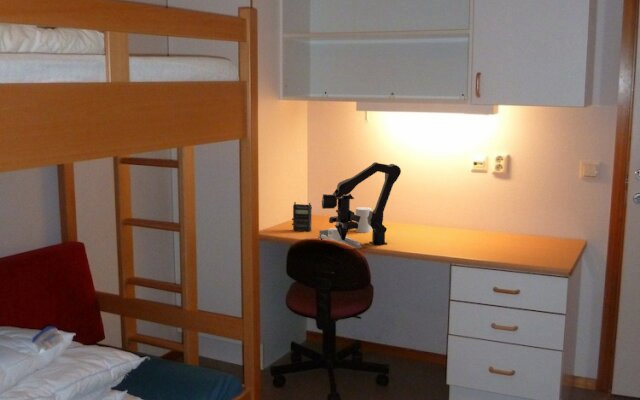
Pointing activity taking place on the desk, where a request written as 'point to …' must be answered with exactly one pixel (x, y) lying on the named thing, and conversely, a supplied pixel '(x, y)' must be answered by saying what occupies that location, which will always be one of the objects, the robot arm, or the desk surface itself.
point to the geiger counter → (301, 217)
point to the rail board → (347, 240)
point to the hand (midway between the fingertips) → (343, 240)
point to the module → (334, 234)
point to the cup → (363, 219)
